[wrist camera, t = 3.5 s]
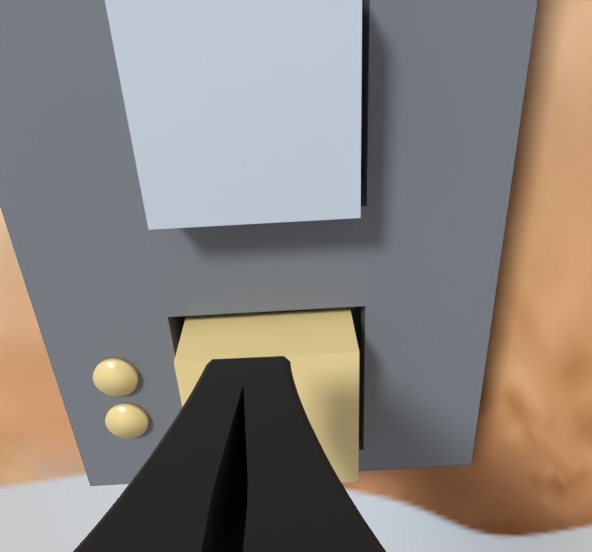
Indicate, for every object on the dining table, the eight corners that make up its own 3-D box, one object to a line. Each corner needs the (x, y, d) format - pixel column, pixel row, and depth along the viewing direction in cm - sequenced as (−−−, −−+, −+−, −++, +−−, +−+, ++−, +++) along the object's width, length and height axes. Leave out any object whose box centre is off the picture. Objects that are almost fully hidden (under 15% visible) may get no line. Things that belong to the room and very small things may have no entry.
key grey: (349, -24, 11) (362, -23, 10) (349, 186, 14) (360, 217, 12) (130, -12, 11) (103, -8, 10) (165, 196, 14) (148, 229, 12)
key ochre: (350, 308, 15) (359, 352, 14) (350, 430, 17) (358, 481, 16) (185, 317, 15) (173, 362, 14) (206, 438, 17) (198, 490, 16)
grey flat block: (573, -708, 9) (681, -957, 6) (449, 409, 20) (472, 469, 17) (-194, -666, 9) (-367, -901, 6) (111, 428, 20) (88, 490, 17)
